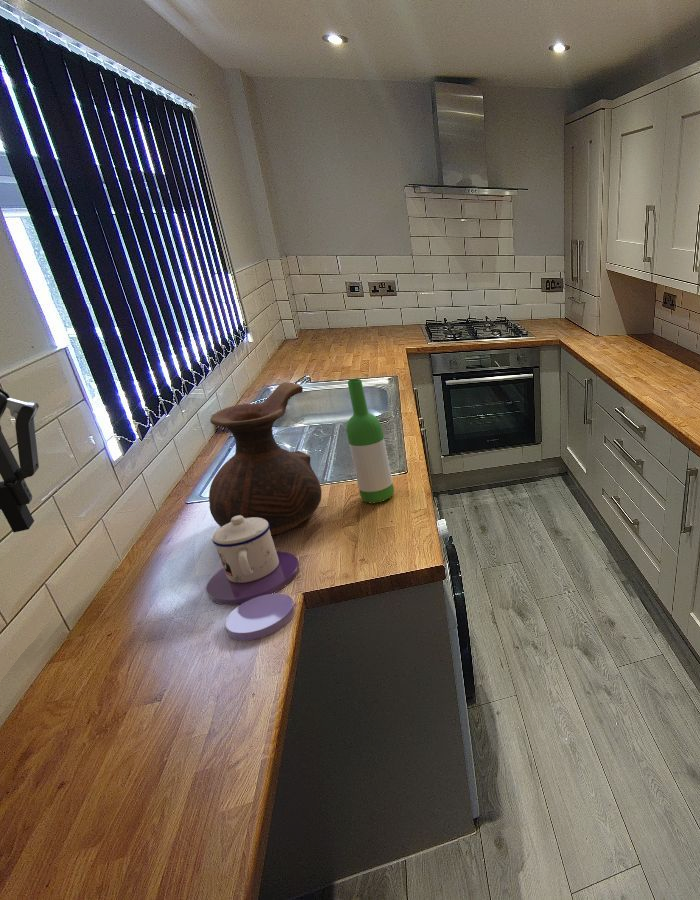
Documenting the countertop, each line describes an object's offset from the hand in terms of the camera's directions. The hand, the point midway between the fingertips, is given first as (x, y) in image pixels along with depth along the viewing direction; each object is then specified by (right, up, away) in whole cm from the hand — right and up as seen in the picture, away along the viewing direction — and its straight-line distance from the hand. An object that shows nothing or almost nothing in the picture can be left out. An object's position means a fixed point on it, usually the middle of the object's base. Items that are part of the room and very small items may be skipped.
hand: (24, 526), depth 72 cm
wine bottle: (+24, -1, +58) cm, 63 cm away
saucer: (+13, -14, +28) cm, 34 cm away
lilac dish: (+21, -19, +18) cm, 33 cm away
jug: (+5, -6, +48) cm, 49 cm away
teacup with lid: (+13, -13, +28) cm, 34 cm away
